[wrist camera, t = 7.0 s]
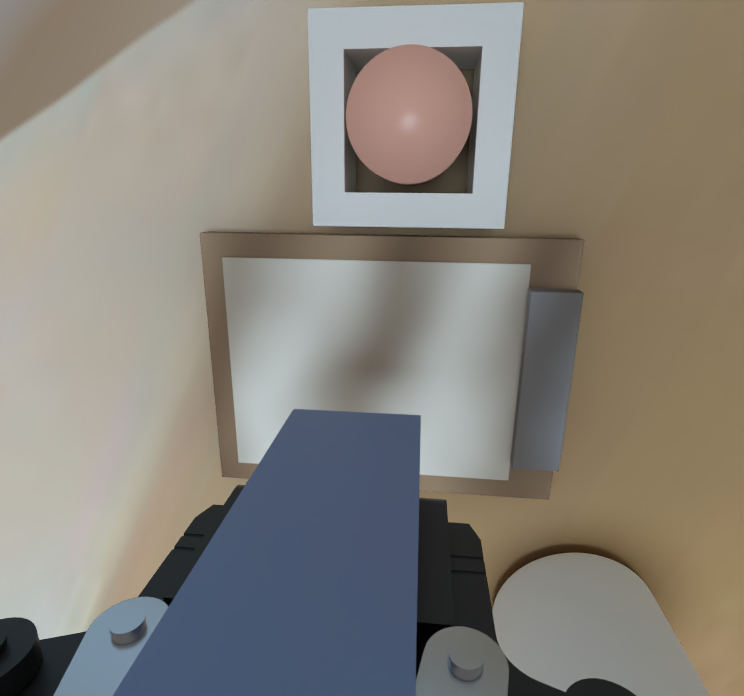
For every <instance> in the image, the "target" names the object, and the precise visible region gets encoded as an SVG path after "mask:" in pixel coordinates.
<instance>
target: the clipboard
mask: <svg viewBox="0 0 744 696" xmlns="http://www.w3.org/2000/svg"><path fill="white" fill-rule="evenodd" d="M200 241H201V252H202V263H203V274H204V285H205V295H206V306H207V317H208V328H209V339H210V349H211V360H212V371H213V382H214V393H215V403H216V414H217V425H218V436H219V447H220V458H221V468H222V477H233V478H247V479H250V477H251V475H252V474H253V472H254V471H255V469H256V467H257V466H258V464H259V463H260V461H261V460H262V458H263V456H264V455H265V453H266V452H267V450H268V448H269V447H270V445H271V444H272V442H273V441H274V439H275V437H276V436H277V434H278V433H279V431H280V429H281V428H282V426H283V425H284V423H285V421H286V420H287V418H288V417H289V415H290V414H291V412H292V410H293V409H307V410H327V411H347V412H367V413H387V414H407V415H421V434H420V484H419V491H433V492H447V493H461V494H476V495H490V496H504V497H518V498H533V499H547V500H549V496H550V489H551V481H552V474H553V471H559V465H560V458H561V450H562V443H563V436H564V429H565V422H566V415H567V407H568V400H569V393H570V386H571V379H572V372H573V364H574V357H575V350H576V343H577V336H578V329H579V321H580V314H581V307H582V300H583V293H582V292H581V291H579V290H578V282H579V275H580V267H581V260H582V253H583V245H584V240H583V239H579V238H531V237H474V236H418V235H362V234H305V233H249V232H203V233H200Z"/></svg>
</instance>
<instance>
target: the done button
mask: <svg viewBox="0 0 744 696" xmlns="http://www.w3.org/2000/svg"><path fill="white" fill-rule="evenodd" d="M471 122H472V99H471V94H470V90H469V87H468V85H467V82H466V80H465V78H464V76H463V74H462V72H461V71H460V70H459V68H458V67H457V66H456V64H455V63H454V62H453V61H452V60H451V59H450V58H448V57H447V56H446V55H444V54H443V53H441V52H439V51H437V50H436V49H433V48H430V47H428V46H423V45H416V44H407V45H400V46H396V47H392V48H390V49H387V50H385V51H383V52H382V53H380V54H378V55H377V56H375V57H374V58H373V59H371V60H370V61H369V62H368V63H367V64H366V65H365V66H364V67H363V69H362V70H361V71H360V73H359V74H358V76H357V77H356V79H355V81H354V83H353V85H352V87H351V90H350V93H349V96H348V100H347V106H346V126H347V132H348V136H349V139H350V142H351V144H352V147H353V149H354V151H355V152H356V154H357V156H358V157H359V159H360V160H361V161H362V162H363V163H364V164H365V165H366V166H367V167H368V168H369V169H370V170H371V171H373V172H374V173H375V174H377V175H379V176H381V177H383V178H385V179H387V180H389V181H391V182H394V183H397V184H402V185H418V184H423V183H426V182H429V181H431V180H433V179H435V178H437V177H438V176H440V175H441V174H442V173H444V172H445V171H446V170H447V169H448V168H449V167H450V166H451V164H452V163H453V162H454V160H455V159H456V158H457V156H458V155H459V153H460V152H461V150H462V148H463V147H464V145H465V143H466V140H467V138H468V135H469V132H470V128H471Z"/></svg>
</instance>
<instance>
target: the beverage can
mask: <svg viewBox="0 0 744 696" xmlns="http://www.w3.org/2000/svg"><path fill="white" fill-rule="evenodd" d="M492 614H493V620H494V626H495V632H496V637H497V641H498V643H499V646H500V648H501V650H502V651H503V653H504V654H505V656H506V657H507V658H508V660H509V661H510V662H511V663H512V664H513V665H514V666H515V667H516V668H518V669H519V670H520V671H522V672H523V673H524V674H526V675H528V676H529V677H531V678H533V679H535V680H537V681H539V682H542V683H544V684H547V685H549V686H552V687H554V688H557V689H559V690H562V691H564V692H566V690H567V689H568V688H569V687H570V686H571V685H572V684H573V683H575V682H577V681H579V680H582V679H587V678H598V679H604V680H607V681H611V682H614V683H616V684H618V685H621V686H622V687H624V688H626V689H628V690H629V691H631V692H632V693H634V694H635V695H636V696H710V695H709V693H708V691H707V689H706V688H705V686H704V684H703V682H702V681H701V679H700V677H699V675H698V674H697V672H696V670H695V668H694V667H693V665H692V663H691V661H690V660H689V658H688V656H687V654H686V653H685V651H684V649H683V647H682V646H681V644H680V642H679V640H678V639H677V637H676V635H675V633H674V632H673V630H672V628H671V626H670V625H669V623H668V621H667V619H666V618H665V616H664V614H663V612H662V610H661V609H660V607H659V605H658V603H657V602H656V600H655V598H654V596H653V595H652V593H651V591H650V590H649V588H648V587H647V585H646V584H645V583H644V581H643V580H642V579H641V578H640V577H639V576H638V575H637V574H635V573H634V572H633V571H631V570H630V569H629V568H627V567H626V566H624V565H622V564H620V563H618V562H616V561H614V560H611V559H609V558H606V557H602V556H599V555H594V554H588V553H561V554H555V555H550V556H546V557H543V558H540V559H537V560H535V561H533V562H530V563H529V564H527V565H525V566H523V567H522V568H520V569H519V570H517V571H516V572H515V573H514V574H512V575H511V576H510V577H509V578H508V579H507V581H506V582H505V583H504V584H503V586H502V587H501V589H500V590H499V592H498V594H497V596H496V599H495V601H494V605H493V610H492Z"/></svg>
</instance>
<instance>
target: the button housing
mask: <svg viewBox="0 0 744 696" xmlns="http://www.w3.org/2000/svg"><path fill="white" fill-rule="evenodd" d="M523 6H524V2H515V3H481V4H447V5H414V6H380V7H346V8H312V9H308V43H309V82H310V122H311V161H312V201H313V226H360V227H422V228H484V229H504V224H505V212H506V201H507V189H508V178H509V167H510V155H511V144H512V132H513V121H514V109H515V98H516V86H517V75H518V64H519V52H520V41H521V29H522V18H523ZM407 44H416V45H423V46H428V47H430V48H433V49H436V50H437V51H439V52H441V53H443V54H444V55H446V56H447V57H448V58H450V59H451V60H452V61H453V62H454V63H455V64H456V66H457V67H458V68H459V70H461V69H474V79H473V94H472V122H471V128H470V141H469V157H468V173H467V188H466V193H356V152H355V151H354V149H353V147H352V144H351V142H350V139H349V136H348V132H347V126H346V106H347V100H348V96H349V93H350V90H351V87H352V85H353V83H354V81H355V79H356V71H361V70H362V69H363V67H364V66H365V65H366V64H367V63H368V62H369V61H370V60H371V59H373V58H374V57H375V56H377V55H378V54H380V53H382V52H383V51H385V50H387V49H390V48H392V47H396V46H400V45H407Z"/></svg>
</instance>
